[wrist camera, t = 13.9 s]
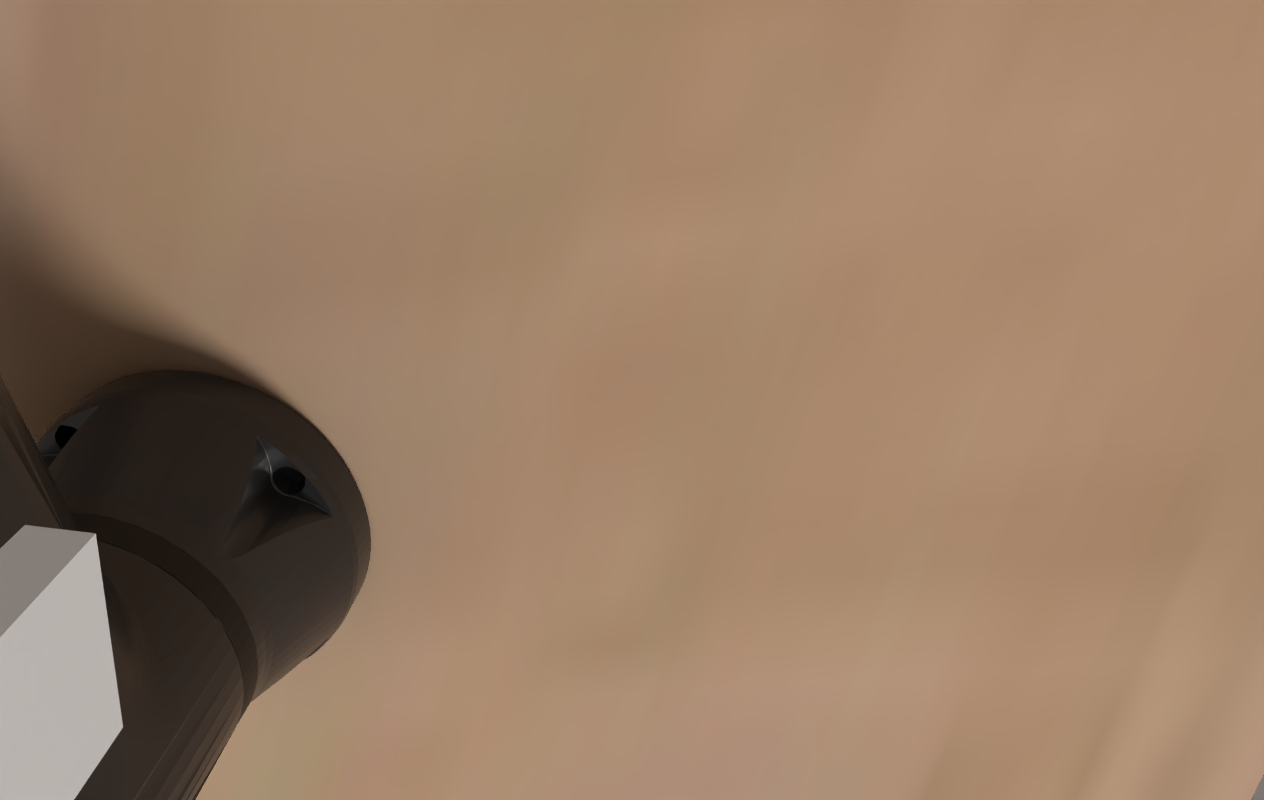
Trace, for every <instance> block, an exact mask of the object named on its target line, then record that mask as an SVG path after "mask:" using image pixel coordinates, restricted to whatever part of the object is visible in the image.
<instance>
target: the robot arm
mask: <svg viewBox="0 0 1264 800" xmlns="http://www.w3.org/2000/svg"><path fill="white" fill-rule="evenodd" d="M370 551H371V537H370V527H369V521H368V516H367V512H366V508H365V505H364V502H363V499H362V496H361V494H360V492H359V489H358V487H357V485H356V483H355V481H354V479H353V477H352V475H351V474H350V472H349V470H348V469H347V467H346V465H345V464H344V462H343V461H342V460H341V458H340V457H339V455H338V454H337V453H336V452H335V450H334V449H333V448H332V447H331V445H330V444H329V443H328V442H327V441H326V440H325V439H324V438H323V437H322V436H321V435H320V434H319V433H318V432H317V431H316V430H315V429H314V428H313V427H312V426H311V425H309V424H308V423H307V422H306V421H305V420H304V419H302V418H301V417H300V416H298V415H297V414H296V413H294V412H293V411H292V410H290V409H289V408H287V407H286V406H284V405H283V404H281V403H280V402H278V401H276V400H274V399H273V398H271V397H269V396H267V395H265V394H263V393H261V392H259V391H257V390H255V389H253V388H250V387H248V386H246V385H243V384H240V383H237V382H235V381H232V380H229V379H225V378H222V377H218V376H213V375H209V374H204V373H197V372H189V371H153V372H145V373H140V374H135V375H130V376H127V377H124V378H121V379H118V380H115V381H113V382H110V383H108V384H106V385H104V386H102V387H100V388H99V389H97V390H96V391H94V392H92V393H91V394H89V395H88V396H87V397H86V398H84V399H83V400H82V401H81V402H79V403H78V404H77V405H76V406H74V407H73V408H72V409H71V410H69V411H68V412H67V413H66V414H65V415H63V416H62V417H61V418H60V419H58V420H57V421H56V422H55V423H54V424H53V425H52V426H51V427H50V428H49V430H48V431H47V432H46V433H45V434H44V436H43V437H42V438H41V439H40V441H39V442H38V444H37V445H36V444H35V442H34V440H33V438H32V436H31V434H30V432H29V430H28V428H27V426H26V424H25V423H24V421H23V419H22V417H21V415H20V413H19V411H18V409H17V407H16V405H15V403H14V401H13V399H12V397H11V395H10V393H9V391H8V389H7V387H6V385H5V383H4V382H3V380H2V378H1V376H0V800H195V799H196V797H197V796H198V794H199V792H200V790H201V788H202V787H203V785H204V783H205V781H206V780H207V778H208V776H209V774H210V772H211V771H212V769H213V767H214V765H215V763H216V762H217V760H218V758H219V756H220V755H221V753H222V751H223V749H224V747H225V746H226V744H227V742H228V740H229V739H230V737H231V735H232V733H233V731H234V730H235V727H236V725H237V724H238V722H239V720H240V719H241V717H242V715H243V714H244V712H245V710H246V709H247V707H248V705H249V704H250V702H252V701H253V700H254V699H255V698H257V697H258V696H259V695H261V694H262V693H263V692H264V691H266V690H267V689H268V688H270V687H271V686H272V685H274V684H275V683H276V682H277V681H279V680H280V679H281V678H282V677H284V676H285V675H286V674H287V673H289V672H290V671H291V670H292V669H293V668H295V667H296V666H297V665H298V664H299V663H301V662H302V661H303V660H304V659H306V658H308V657H309V656H311V655H312V654H314V653H315V652H316V651H317V650H319V649H320V648H321V647H322V646H323V645H324V644H325V643H326V642H327V641H328V640H329V639H330V638H331V637H332V635H333V634H334V633H335V632H336V630H337V629H338V628H339V627H340V625H341V624H342V622H343V621H344V619H345V617H346V615H347V613H348V611H349V610H350V608H351V606H352V604H353V602H354V600H355V598H356V596H357V595H358V593H359V591H360V589H361V587H362V584H363V582H364V579H365V577H366V573H367V570H368V565H369V560H370ZM1251 800H1264V775H1263V777H1262V779H1261V781H1260V783H1259V785H1258V787H1257V789H1256V791H1255V793H1254V795H1253V797H1252V799H1251Z"/></svg>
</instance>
